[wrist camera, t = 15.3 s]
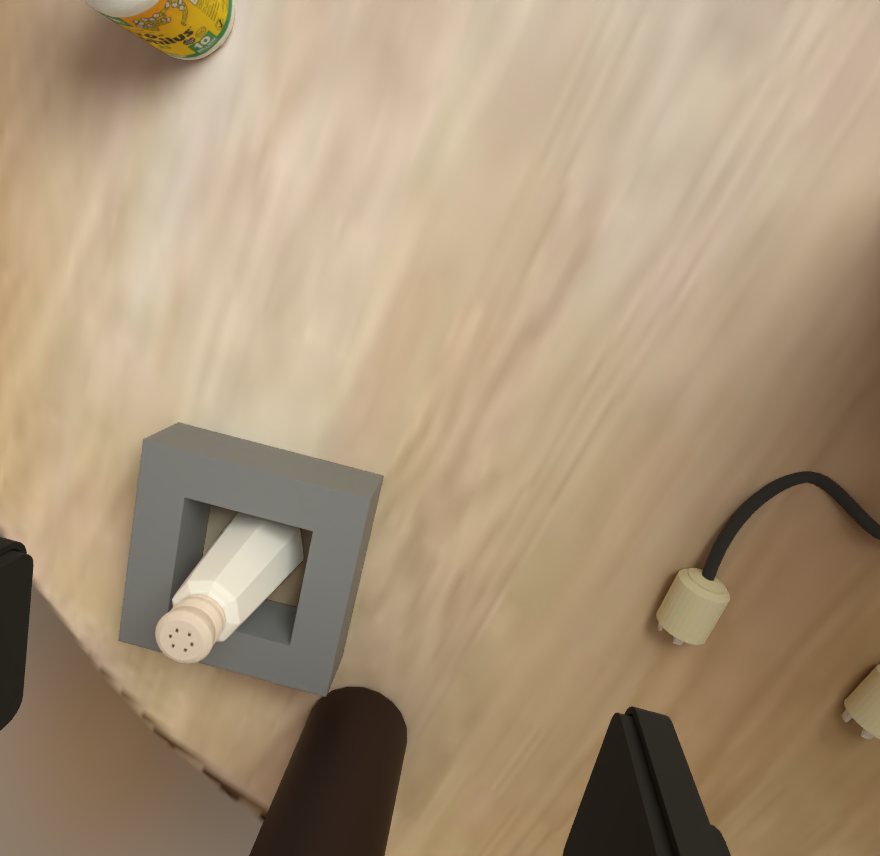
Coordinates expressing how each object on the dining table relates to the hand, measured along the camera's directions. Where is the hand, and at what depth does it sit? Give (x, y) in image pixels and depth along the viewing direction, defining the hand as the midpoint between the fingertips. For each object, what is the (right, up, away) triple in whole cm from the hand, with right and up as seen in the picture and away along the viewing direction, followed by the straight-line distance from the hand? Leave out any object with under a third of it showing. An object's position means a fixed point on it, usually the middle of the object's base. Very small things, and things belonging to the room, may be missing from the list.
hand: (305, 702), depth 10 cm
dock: (-9, -3, +31) cm, 32 cm away
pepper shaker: (-9, -3, +31) cm, 33 cm away
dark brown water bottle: (-3, -16, +34) cm, 38 cm away
